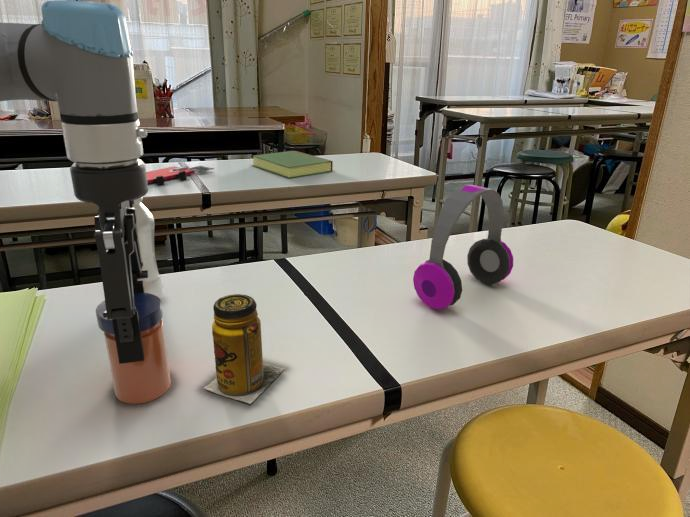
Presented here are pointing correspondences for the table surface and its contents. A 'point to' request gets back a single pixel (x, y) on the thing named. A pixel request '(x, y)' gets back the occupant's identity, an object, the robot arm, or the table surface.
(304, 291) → the table surface
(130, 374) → the jar
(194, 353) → the table surface
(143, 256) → the plastic bottle
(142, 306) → the lid
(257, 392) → the condiment
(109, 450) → the table surface
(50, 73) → the robot arm
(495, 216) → the headphones
